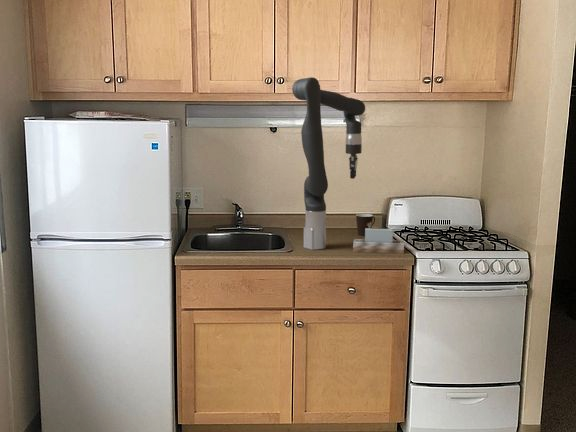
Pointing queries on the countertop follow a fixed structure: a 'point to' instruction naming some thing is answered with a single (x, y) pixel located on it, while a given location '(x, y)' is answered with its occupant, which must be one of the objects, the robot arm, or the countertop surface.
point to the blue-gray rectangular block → (379, 235)
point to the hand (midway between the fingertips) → (353, 177)
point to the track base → (378, 246)
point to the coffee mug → (364, 223)
